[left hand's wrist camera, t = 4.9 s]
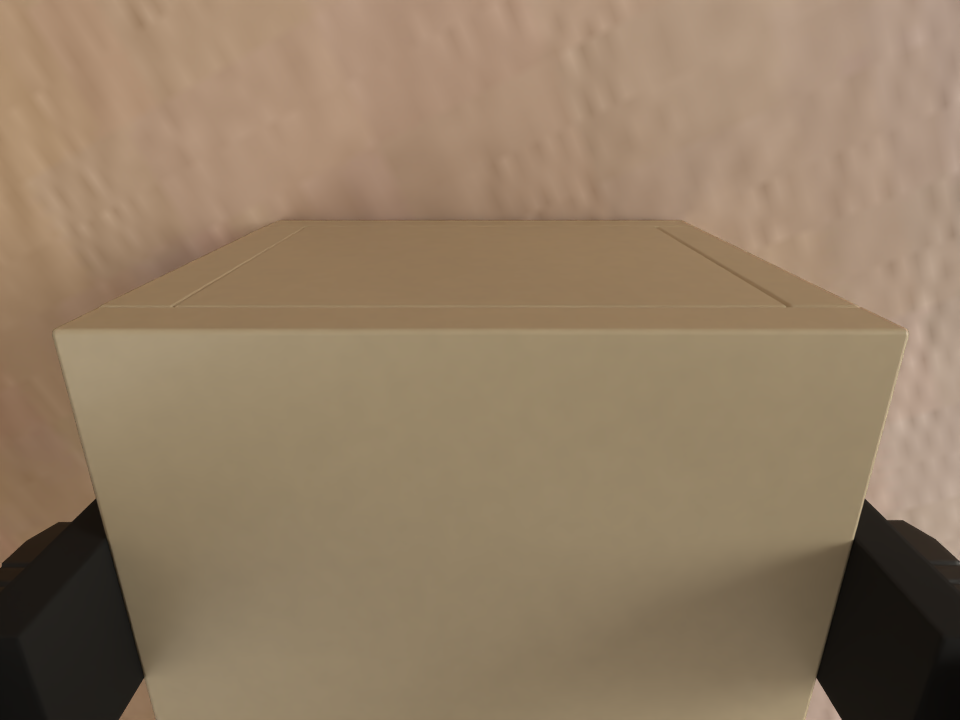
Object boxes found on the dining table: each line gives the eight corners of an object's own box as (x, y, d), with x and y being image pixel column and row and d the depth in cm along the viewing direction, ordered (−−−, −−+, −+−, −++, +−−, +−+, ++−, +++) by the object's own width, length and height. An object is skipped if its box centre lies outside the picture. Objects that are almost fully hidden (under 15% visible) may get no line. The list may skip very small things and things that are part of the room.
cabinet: (628, 680, 22) (722, 1032, 14) (331, 680, 22) (237, 1032, 14) (683, 219, 16) (914, 329, 8) (276, 219, 16) (48, 329, 8)
